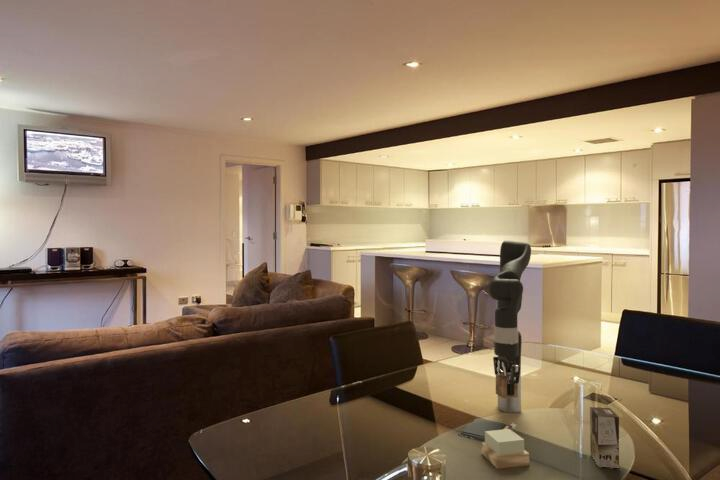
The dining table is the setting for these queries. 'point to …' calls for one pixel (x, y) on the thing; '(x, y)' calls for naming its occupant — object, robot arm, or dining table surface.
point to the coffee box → (604, 436)
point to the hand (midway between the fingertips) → (506, 392)
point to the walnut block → (504, 387)
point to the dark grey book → (482, 428)
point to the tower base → (505, 458)
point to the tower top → (504, 441)
